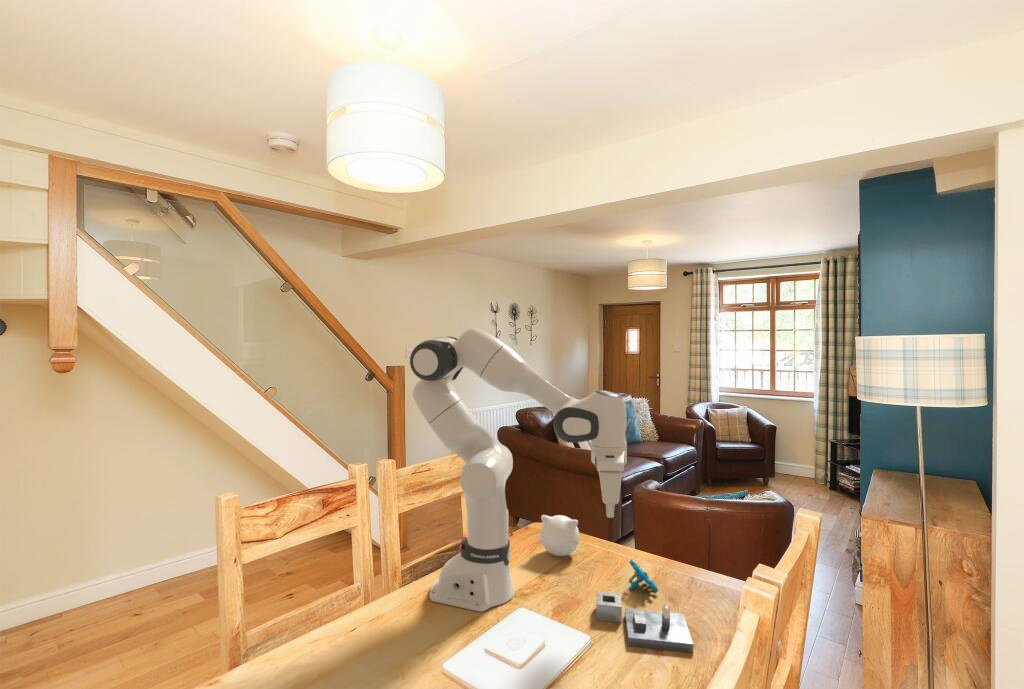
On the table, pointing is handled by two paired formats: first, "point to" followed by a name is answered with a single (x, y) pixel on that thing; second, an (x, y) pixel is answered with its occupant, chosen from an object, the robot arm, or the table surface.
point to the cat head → (559, 535)
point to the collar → (608, 607)
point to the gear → (641, 577)
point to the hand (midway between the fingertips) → (609, 509)
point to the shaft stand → (658, 630)
